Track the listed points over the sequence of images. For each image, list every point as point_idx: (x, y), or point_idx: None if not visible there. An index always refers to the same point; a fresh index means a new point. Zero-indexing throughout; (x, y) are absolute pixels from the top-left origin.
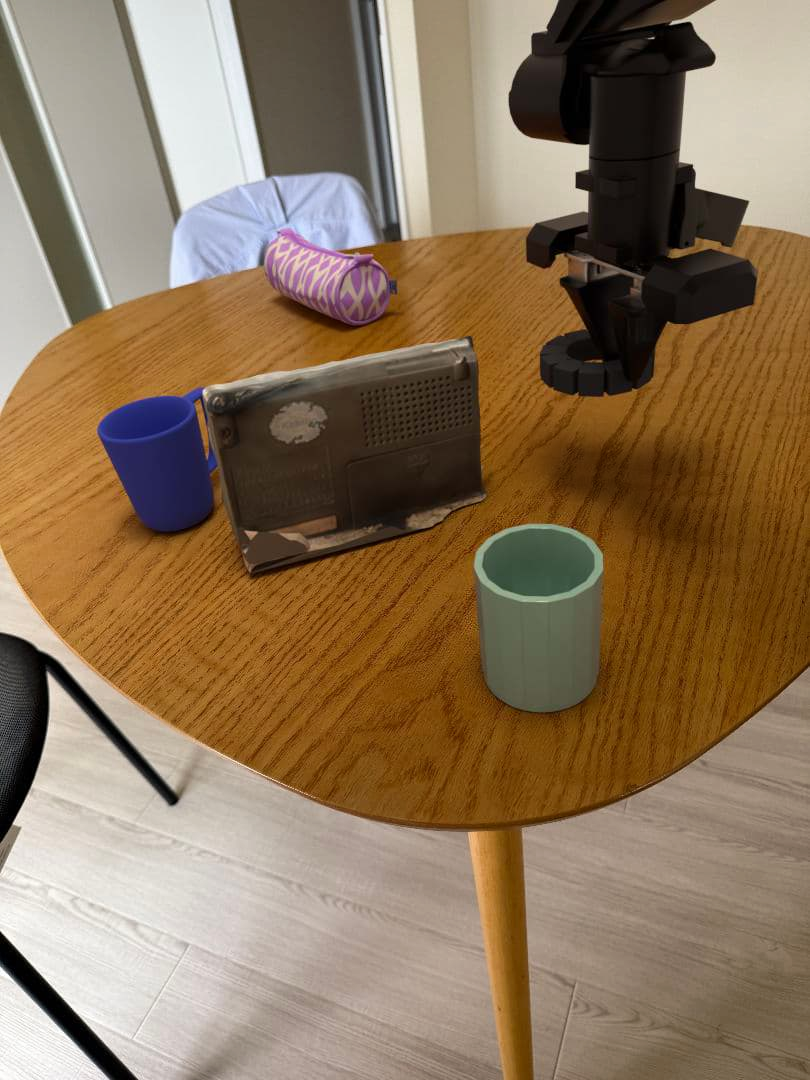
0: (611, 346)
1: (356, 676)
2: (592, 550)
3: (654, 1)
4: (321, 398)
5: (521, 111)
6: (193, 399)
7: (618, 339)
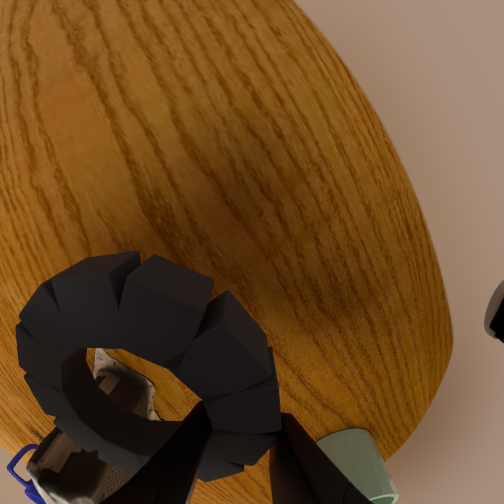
0: (200, 465)
1: (264, 490)
2: (387, 496)
3: None
4: None
5: None
6: (23, 482)
7: None
